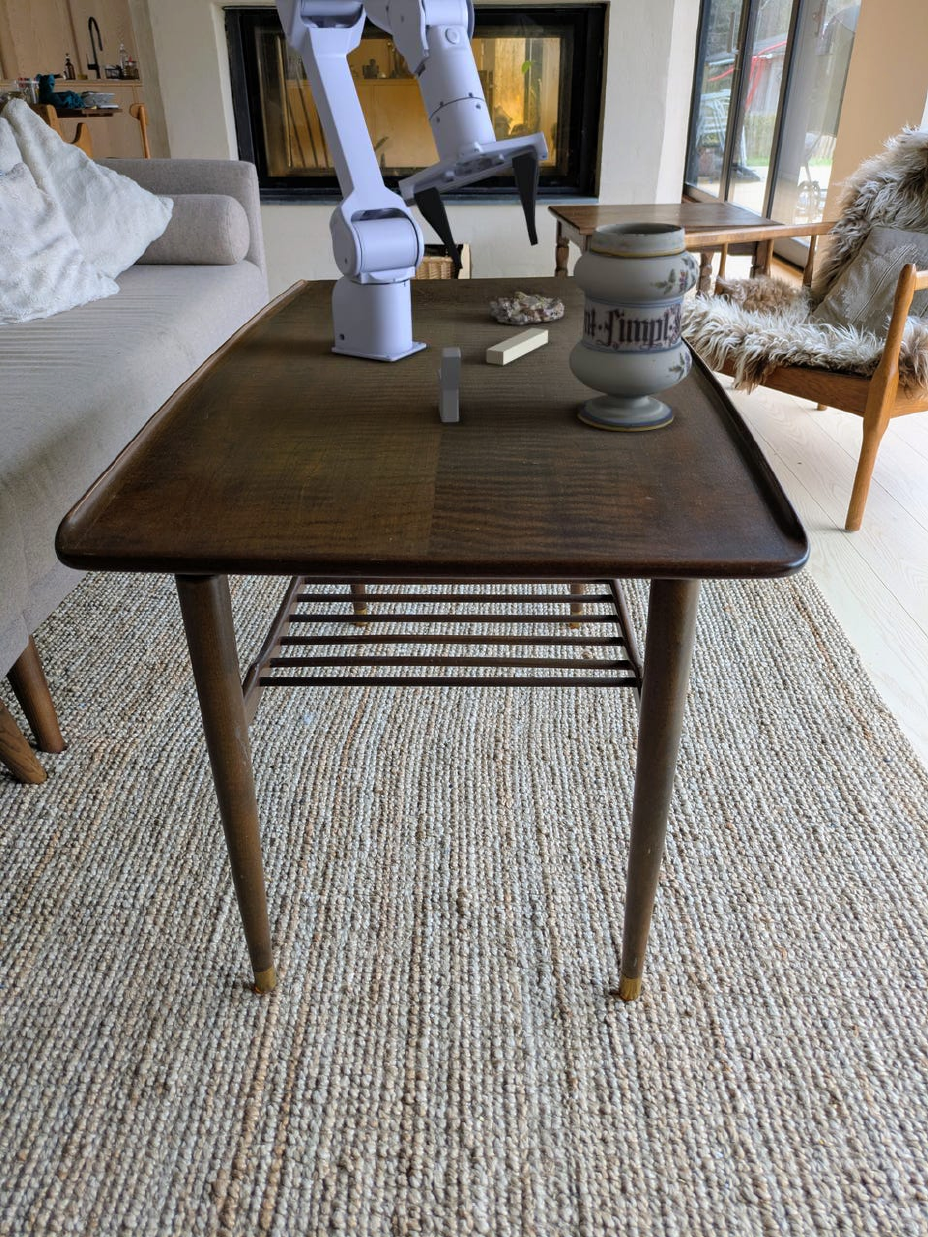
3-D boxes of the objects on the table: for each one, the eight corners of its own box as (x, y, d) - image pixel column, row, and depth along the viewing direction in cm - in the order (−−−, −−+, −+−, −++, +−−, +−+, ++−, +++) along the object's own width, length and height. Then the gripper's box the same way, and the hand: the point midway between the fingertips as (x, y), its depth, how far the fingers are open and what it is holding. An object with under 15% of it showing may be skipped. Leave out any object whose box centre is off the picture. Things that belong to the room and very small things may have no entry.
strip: (486, 362, 110) (486, 349, 109) (531, 340, 119) (531, 327, 118) (503, 365, 109) (503, 351, 108) (547, 342, 118) (548, 329, 117)
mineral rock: (495, 310, 123) (488, 282, 128) (492, 339, 126) (485, 310, 132) (572, 310, 124) (562, 282, 130) (568, 339, 127) (558, 310, 133)
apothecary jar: (562, 397, 98) (571, 217, 89) (673, 397, 98) (694, 217, 88) (570, 435, 88) (580, 237, 78) (694, 436, 87) (720, 236, 78)
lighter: (438, 409, 95) (436, 331, 91) (455, 408, 95) (453, 331, 91) (444, 432, 89) (442, 350, 85) (461, 431, 89) (460, 350, 85)
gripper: (378, 122, 84) (419, 266, 85) (529, 68, 82) (568, 216, 83) (392, 152, 91) (430, 285, 92) (531, 103, 89) (568, 240, 90)
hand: (496, 254), depth 88 cm, fingers open, 7 cm apart
